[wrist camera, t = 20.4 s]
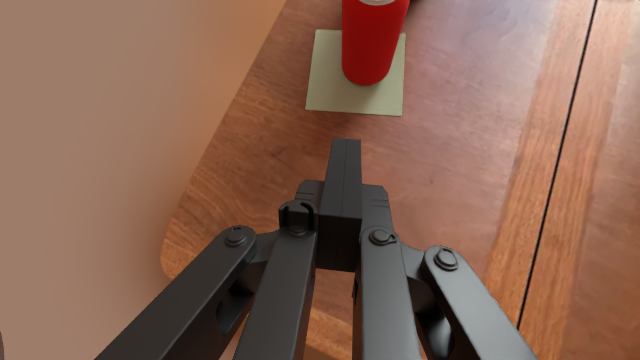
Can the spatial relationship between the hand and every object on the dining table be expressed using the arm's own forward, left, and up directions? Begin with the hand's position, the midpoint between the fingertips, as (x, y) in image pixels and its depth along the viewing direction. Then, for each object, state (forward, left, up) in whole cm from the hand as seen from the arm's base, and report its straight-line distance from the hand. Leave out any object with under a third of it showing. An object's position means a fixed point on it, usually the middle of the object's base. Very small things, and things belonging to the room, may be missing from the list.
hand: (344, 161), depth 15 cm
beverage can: (+1, +18, -16) cm, 24 cm away
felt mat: (0, +17, -16) cm, 24 cm away
